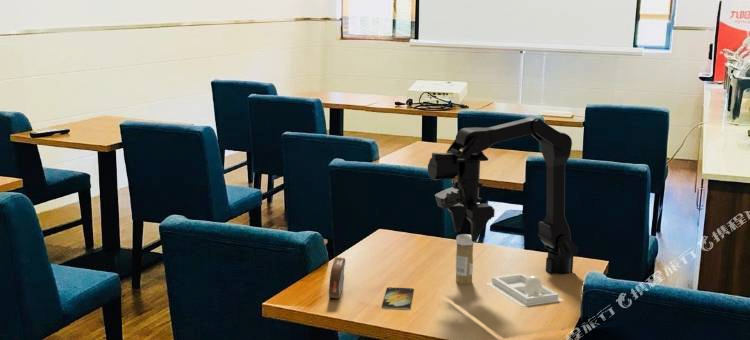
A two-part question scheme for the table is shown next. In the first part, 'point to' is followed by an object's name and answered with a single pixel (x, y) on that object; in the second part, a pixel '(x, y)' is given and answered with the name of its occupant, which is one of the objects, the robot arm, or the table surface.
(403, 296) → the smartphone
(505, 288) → the tray
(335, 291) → the tin
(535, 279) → the egg
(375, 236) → the table surface
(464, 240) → the sprinkles bottle
